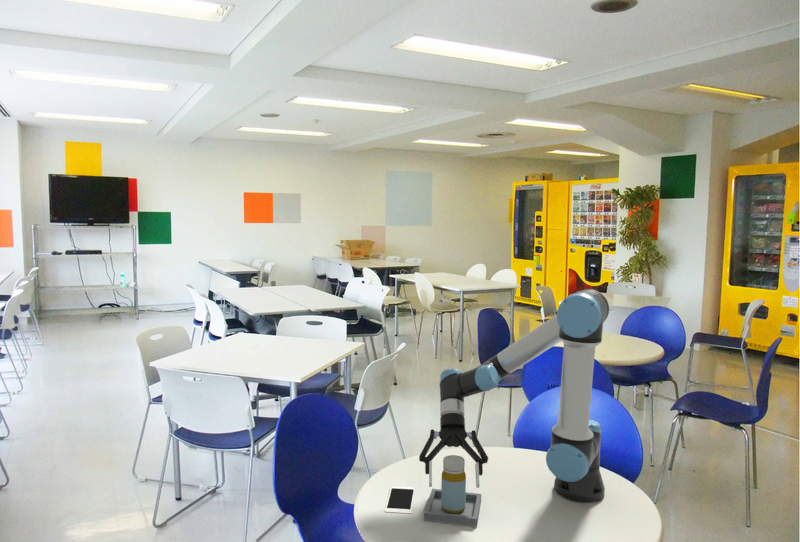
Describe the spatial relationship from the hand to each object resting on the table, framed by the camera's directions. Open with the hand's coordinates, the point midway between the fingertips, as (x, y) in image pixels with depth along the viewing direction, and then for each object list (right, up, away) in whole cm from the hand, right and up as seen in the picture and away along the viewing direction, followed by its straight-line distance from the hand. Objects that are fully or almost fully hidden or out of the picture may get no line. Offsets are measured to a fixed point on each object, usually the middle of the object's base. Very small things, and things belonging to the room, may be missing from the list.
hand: (454, 485), depth 167 cm
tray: (0, -9, +3) cm, 9 cm away
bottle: (0, -8, +3) cm, 9 cm away
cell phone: (-15, -8, +10) cm, 20 cm away
